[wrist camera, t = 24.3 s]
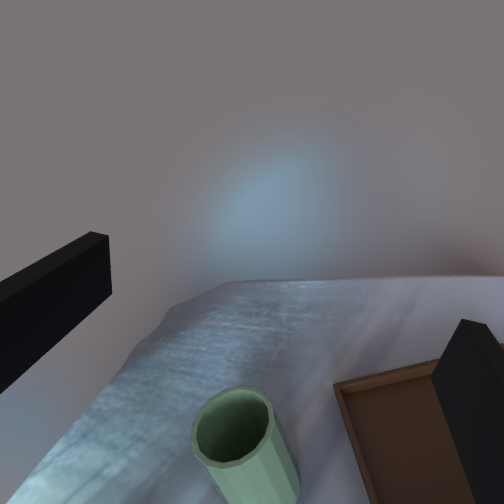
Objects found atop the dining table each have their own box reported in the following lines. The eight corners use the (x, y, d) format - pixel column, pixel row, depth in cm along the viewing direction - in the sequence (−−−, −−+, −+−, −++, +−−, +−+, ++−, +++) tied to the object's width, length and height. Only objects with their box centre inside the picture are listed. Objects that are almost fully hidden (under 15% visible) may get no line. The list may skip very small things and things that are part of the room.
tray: (501, 354, 37) (502, 342, 36) (673, 526, 22) (680, 513, 22) (335, 394, 39) (332, 384, 38) (394, 577, 24) (391, 567, 23)
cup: (294, 440, 35) (269, 378, 31) (307, 522, 29) (278, 457, 24) (229, 455, 36) (196, 396, 32) (227, 538, 29) (185, 477, 25)
